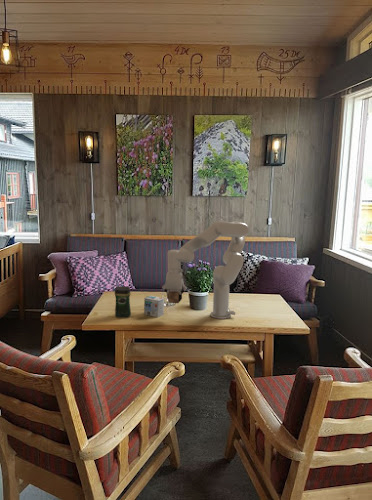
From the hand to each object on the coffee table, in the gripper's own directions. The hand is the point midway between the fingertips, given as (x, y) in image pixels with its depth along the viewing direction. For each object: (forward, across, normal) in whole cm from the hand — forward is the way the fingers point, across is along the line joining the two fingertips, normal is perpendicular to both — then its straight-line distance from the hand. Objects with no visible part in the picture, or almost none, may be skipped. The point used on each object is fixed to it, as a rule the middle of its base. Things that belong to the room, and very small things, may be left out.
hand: (174, 299), depth 243 cm
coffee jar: (+11, +32, +5) cm, 34 cm away
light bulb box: (+12, +15, -4) cm, 20 cm away
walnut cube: (+1, 0, 0) cm, 1 cm away
